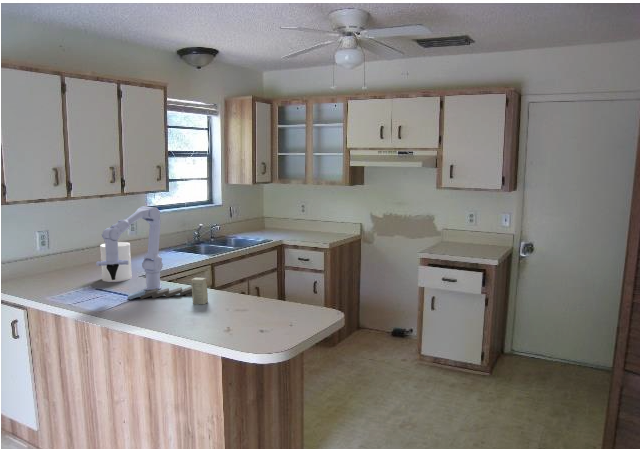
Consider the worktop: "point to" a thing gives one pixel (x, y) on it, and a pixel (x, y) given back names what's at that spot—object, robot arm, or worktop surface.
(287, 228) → the worktop surface
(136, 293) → the domino
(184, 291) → the domino
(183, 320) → the worktop surface
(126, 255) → the canister
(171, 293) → the domino
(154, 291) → the domino
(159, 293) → the domino
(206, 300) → the skincare box
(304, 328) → the worktop surface
